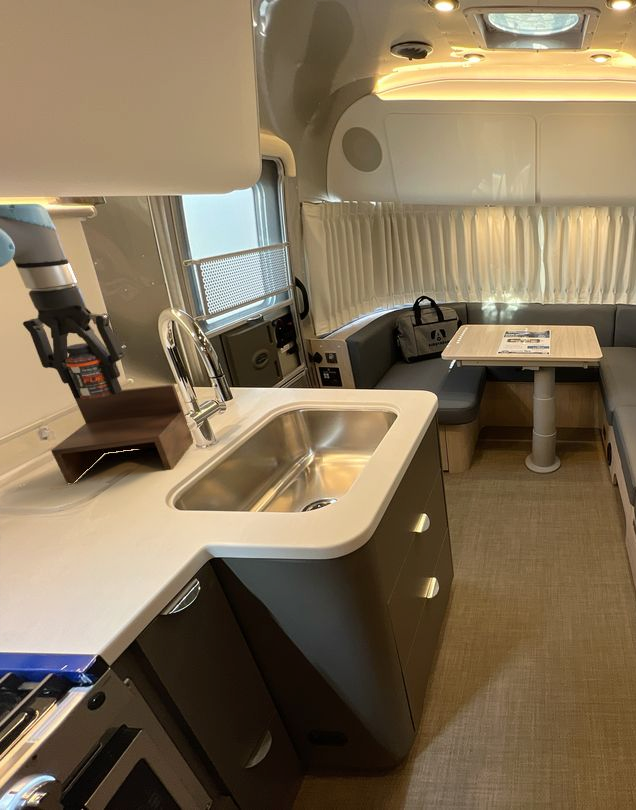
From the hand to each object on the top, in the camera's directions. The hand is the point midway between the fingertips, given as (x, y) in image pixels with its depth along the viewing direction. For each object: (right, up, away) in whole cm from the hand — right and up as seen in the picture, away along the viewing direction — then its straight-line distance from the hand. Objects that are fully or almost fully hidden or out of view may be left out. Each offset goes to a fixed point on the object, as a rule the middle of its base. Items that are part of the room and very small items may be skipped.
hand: (98, 393), depth 106 cm
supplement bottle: (0, 0, 0) cm, 1 cm away
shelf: (-1, -16, +10) cm, 19 cm away
